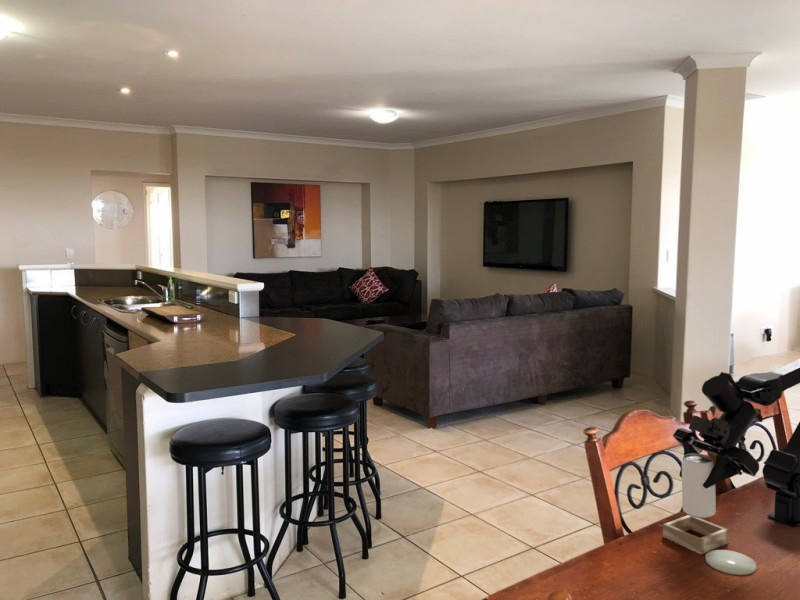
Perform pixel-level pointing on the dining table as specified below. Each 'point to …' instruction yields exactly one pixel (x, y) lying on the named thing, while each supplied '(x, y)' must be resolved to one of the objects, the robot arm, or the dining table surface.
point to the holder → (710, 541)
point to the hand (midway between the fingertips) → (692, 481)
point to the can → (697, 486)
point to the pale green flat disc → (730, 562)
